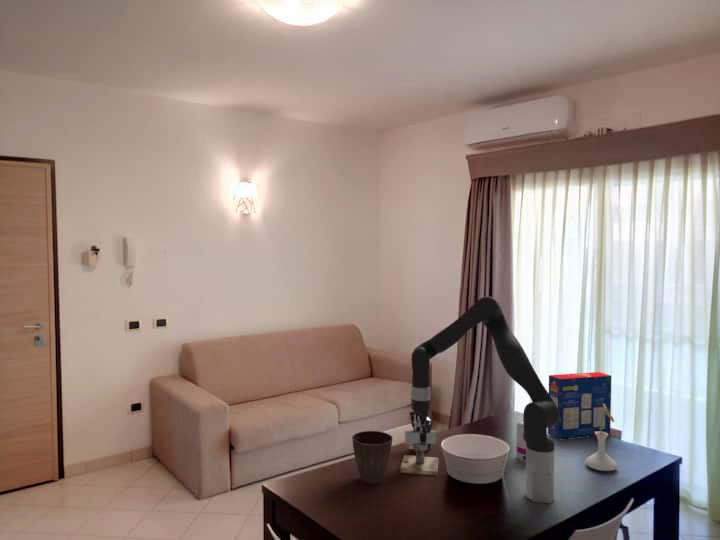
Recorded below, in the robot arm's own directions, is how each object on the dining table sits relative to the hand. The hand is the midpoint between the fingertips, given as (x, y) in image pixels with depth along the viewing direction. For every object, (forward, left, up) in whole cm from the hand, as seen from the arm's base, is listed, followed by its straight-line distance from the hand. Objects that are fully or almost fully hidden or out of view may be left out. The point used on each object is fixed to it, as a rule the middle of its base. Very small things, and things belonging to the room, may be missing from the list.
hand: (420, 440), depth 207 cm
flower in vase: (+14, -70, -11) cm, 72 cm away
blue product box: (+53, -70, -11) cm, 88 cm away
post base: (0, 0, -10) cm, 10 cm away
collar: (0, 0, -3) cm, 3 cm away
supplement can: (+17, -42, -11) cm, 47 cm away
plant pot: (-16, +17, -11) cm, 26 cm away
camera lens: (+19, +1, -11) cm, 22 cm away
